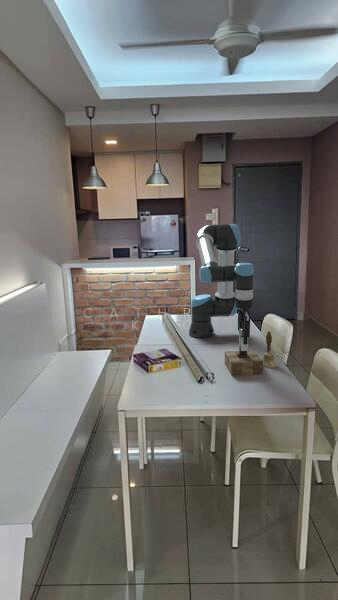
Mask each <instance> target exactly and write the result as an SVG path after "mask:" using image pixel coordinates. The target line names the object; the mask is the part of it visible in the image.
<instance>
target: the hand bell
mask: <svg viewBox="0 0 338 600" xmlns="http://www.w3.org/2000/svg"><path fill="white" fill-rule="evenodd" d="M266 333H267V334H266V336H265V342H266V345H267V346H266V352H264V353H263V357H262V360H263V368H267V369H273V368H278V365H279V363H278V362H277V361H276V359H275V354H274V353H273V352H272V351H271V349H272V348H271V346H272V345H271V344H272V341H273V337H272V333H271V331H267V332H266Z"/></svg>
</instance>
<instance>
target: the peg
mask: <svg viewBox="0 0 338 600" xmlns="http://www.w3.org/2000/svg"><path fill="white" fill-rule="evenodd" d="M241 336H242V328H240V329H239V331H238V351H239V355H241V356H246V355H247V351H241V343H242V337H241Z"/></svg>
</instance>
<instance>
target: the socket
mask: <svg viewBox="0 0 338 600" xmlns="http://www.w3.org/2000/svg"><path fill="white" fill-rule="evenodd" d="M224 365H225V366H226V369H227V370H228V372H229V374H230V376H231V377H235V376H236V377H237V376H250V375H253V376H254V375H263V373H264V367H263V358H262V357H260V356H259V354H258V353H257V352H256V351H255V349H248V351H247V355H246V356H241V355H239V350H233V351H232V350H230V351H229V350H228V351H224Z"/></svg>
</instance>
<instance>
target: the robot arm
mask: <svg viewBox="0 0 338 600" xmlns="http://www.w3.org/2000/svg"><path fill="white" fill-rule="evenodd" d="M241 241H242V239H241V231H240V227H239V226H238V224H236V223H217V224H207V225H205V226H203V227H202V228H200V229H199V230H198V232H197V233H196V234H195V238H194V242H195V243H194V244H195V246H196V248H197V249H198V253H199V257H200V262H201V266H200V267H199V269H198V270H199V271H198V273H199V274H198V275H199V281H200V282H201V283H208V284H209V283H217V291H216V292H215V293H214V296H212V295H211V294H198V295H195V296H193V297H192V298H191V302H190V303H191V304H190V308H191V310H190V311H191V313H190V314H191V323H190V326H189V329H188V335H189V336H190V337H193V338H199V339H203V338H205V339H206V338H210V337H213V336H214V335H215V329H214V325H213V323H212V318H216V317H217V318H222V317H223V318H224V317H234V316H235V315H236V314H237V330H238V332H239V329H240V328H242V336H241V337H242V343H241V351H248V350H249V338H250V336H251V334H250V333H251V319H252V317H251V315H250V311H249V309H252V308H253V305H254V302H253V298H254V273H255V271H254V264H253V263H251V262H238V263H236V264H234V261H235V260H234V259H235V251H237V249H238V247H239V246H241V243H242V242H241ZM214 247H215V248H214ZM215 249H216V251H218V259H217V255H216V253H215ZM234 283H235V291H234V290H233V288H234V287H233V286H234ZM233 291H234V292H233Z"/></svg>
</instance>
